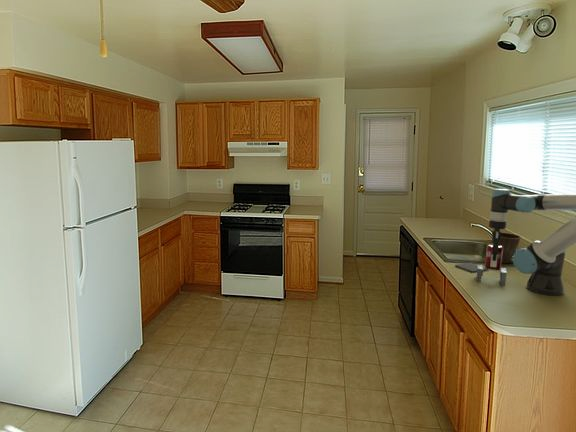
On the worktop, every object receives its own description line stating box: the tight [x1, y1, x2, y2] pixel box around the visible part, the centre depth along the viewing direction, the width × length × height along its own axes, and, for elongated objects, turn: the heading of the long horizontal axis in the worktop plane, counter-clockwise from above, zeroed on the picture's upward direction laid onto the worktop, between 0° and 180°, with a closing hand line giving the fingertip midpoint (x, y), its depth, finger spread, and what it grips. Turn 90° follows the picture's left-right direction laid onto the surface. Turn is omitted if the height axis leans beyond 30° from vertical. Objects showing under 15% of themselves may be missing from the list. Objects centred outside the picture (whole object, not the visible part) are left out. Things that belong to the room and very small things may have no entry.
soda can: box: [484, 243, 503, 271], centre depth 206 cm, size 7×7×12 cm
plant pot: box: [499, 232, 521, 264], centre depth 244 cm, size 15×15×16 cm
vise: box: [476, 264, 508, 286], centre depth 208 cm, size 8×13×6 cm, turn 65°
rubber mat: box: [454, 262, 489, 274], centre depth 229 cm, size 12×12×1 cm
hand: (493, 264), depth 207 cm, fingers closed on soda can, 7 cm apart
